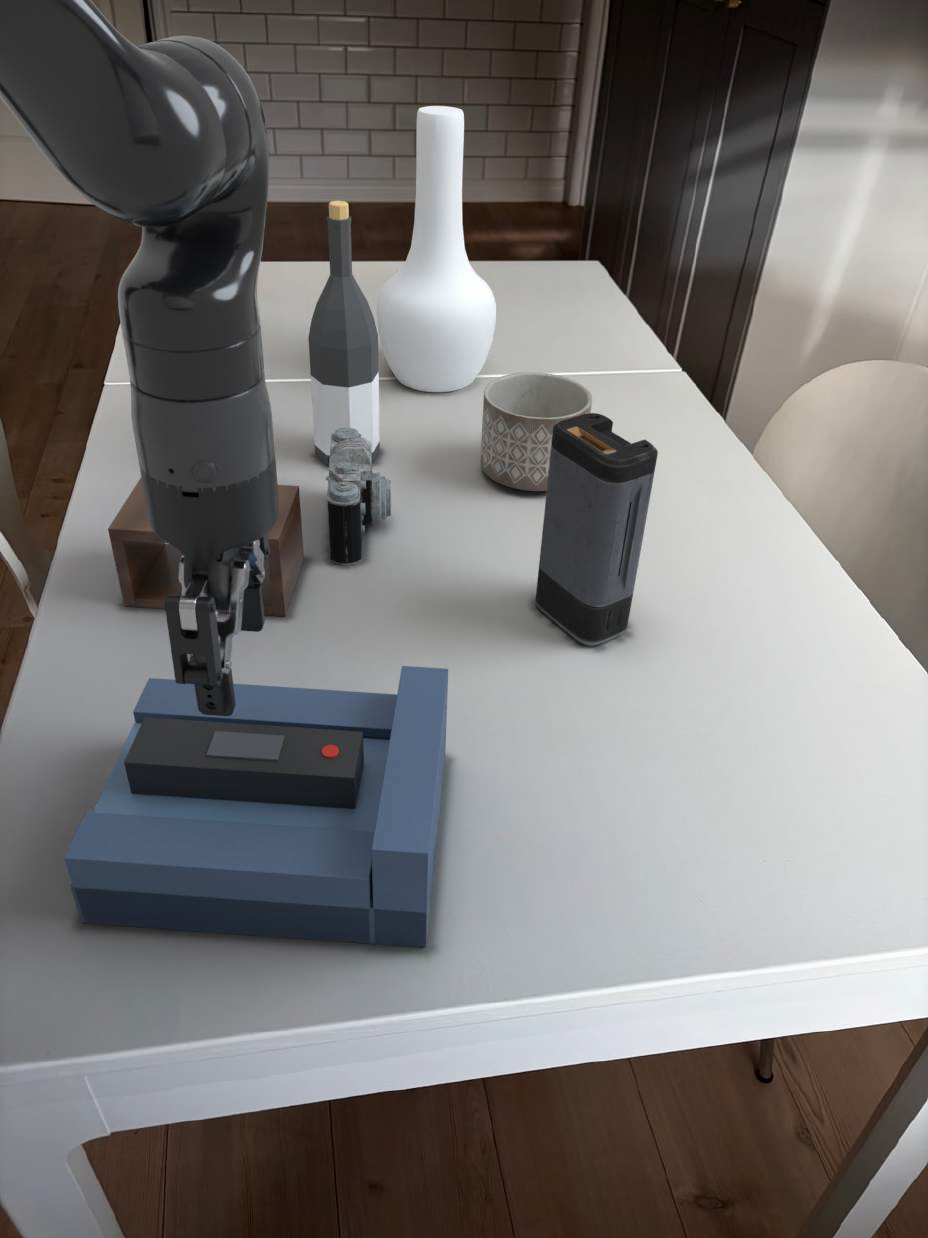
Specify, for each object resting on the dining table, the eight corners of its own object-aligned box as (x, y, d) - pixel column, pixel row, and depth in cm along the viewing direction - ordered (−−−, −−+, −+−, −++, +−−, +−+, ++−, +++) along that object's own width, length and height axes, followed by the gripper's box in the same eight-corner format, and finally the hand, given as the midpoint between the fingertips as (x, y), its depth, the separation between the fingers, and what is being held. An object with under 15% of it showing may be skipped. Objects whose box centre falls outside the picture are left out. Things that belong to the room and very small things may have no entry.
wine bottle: (318, 471, 120) (303, 214, 102) (312, 440, 126) (297, 193, 108) (384, 467, 122) (381, 212, 103) (375, 437, 128) (371, 192, 110)
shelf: (124, 606, 97) (107, 528, 92) (155, 550, 105) (141, 476, 100) (285, 616, 97) (278, 539, 92) (304, 559, 105) (299, 485, 100)
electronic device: (633, 632, 97) (667, 449, 85) (587, 652, 94) (614, 466, 82) (573, 585, 103) (596, 407, 91) (528, 602, 100) (545, 422, 88)
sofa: (81, 923, 69) (50, 827, 63) (159, 740, 83) (140, 648, 77) (426, 948, 68) (428, 853, 62) (445, 760, 82) (448, 668, 76)
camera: (391, 565, 105) (391, 482, 99) (327, 565, 104) (322, 482, 98) (390, 494, 117) (389, 416, 110) (332, 494, 116) (328, 415, 110)
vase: (500, 360, 149) (516, 102, 128) (482, 406, 136) (497, 128, 115) (392, 348, 151) (390, 92, 130) (364, 393, 138) (357, 117, 117)
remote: (131, 794, 70) (122, 760, 68) (150, 748, 74) (143, 715, 72) (355, 809, 70) (353, 776, 68) (364, 762, 74) (363, 730, 72)
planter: (462, 482, 119) (466, 402, 113) (504, 440, 129) (509, 364, 122) (560, 509, 115) (569, 427, 109) (596, 463, 125) (606, 385, 118)
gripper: (176, 391, 61) (205, 600, 71) (96, 510, 50) (144, 739, 60) (297, 399, 61) (309, 608, 71) (244, 520, 50) (267, 748, 60)
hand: (233, 668), depth 66 cm, fingers open, 8 cm apart
